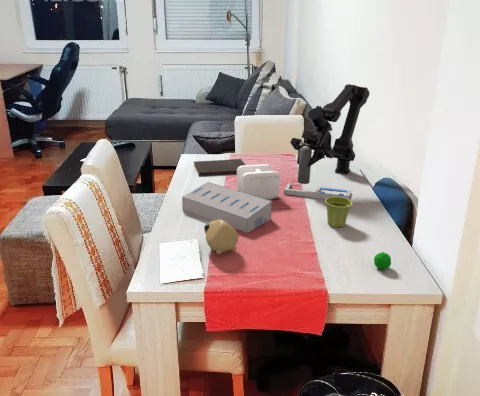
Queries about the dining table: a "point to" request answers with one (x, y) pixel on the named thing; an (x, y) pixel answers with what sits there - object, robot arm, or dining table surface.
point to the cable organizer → (258, 181)
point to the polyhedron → (382, 260)
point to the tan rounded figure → (221, 236)
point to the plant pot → (337, 210)
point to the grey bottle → (304, 165)
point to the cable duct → (317, 193)
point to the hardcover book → (218, 167)
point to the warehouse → (228, 206)
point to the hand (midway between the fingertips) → (302, 165)
